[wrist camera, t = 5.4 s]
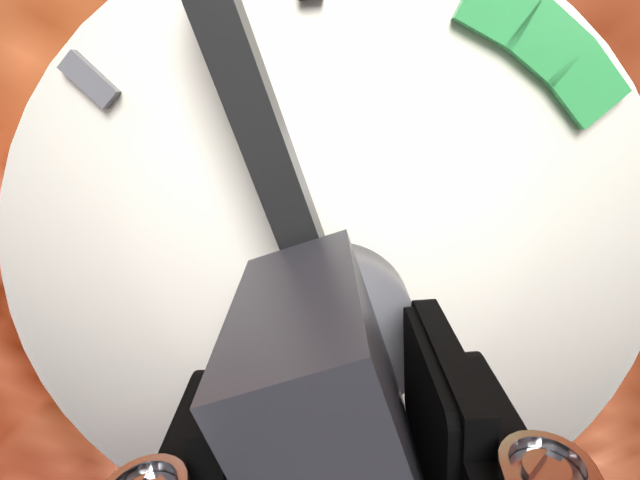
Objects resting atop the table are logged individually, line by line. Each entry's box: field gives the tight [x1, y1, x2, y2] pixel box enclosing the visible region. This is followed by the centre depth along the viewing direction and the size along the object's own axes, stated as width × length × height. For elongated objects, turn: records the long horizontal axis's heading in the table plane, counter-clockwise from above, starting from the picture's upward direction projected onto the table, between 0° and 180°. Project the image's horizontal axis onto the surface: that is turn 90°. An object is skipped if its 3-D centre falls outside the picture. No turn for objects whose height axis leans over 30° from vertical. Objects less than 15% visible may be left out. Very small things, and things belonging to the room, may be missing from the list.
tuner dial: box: [0, 0, 640, 467], centre depth 14 cm, size 20×20×2 cm
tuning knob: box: [181, 0, 424, 480], centre depth 9 cm, size 12×4×7 cm, turn 19°
